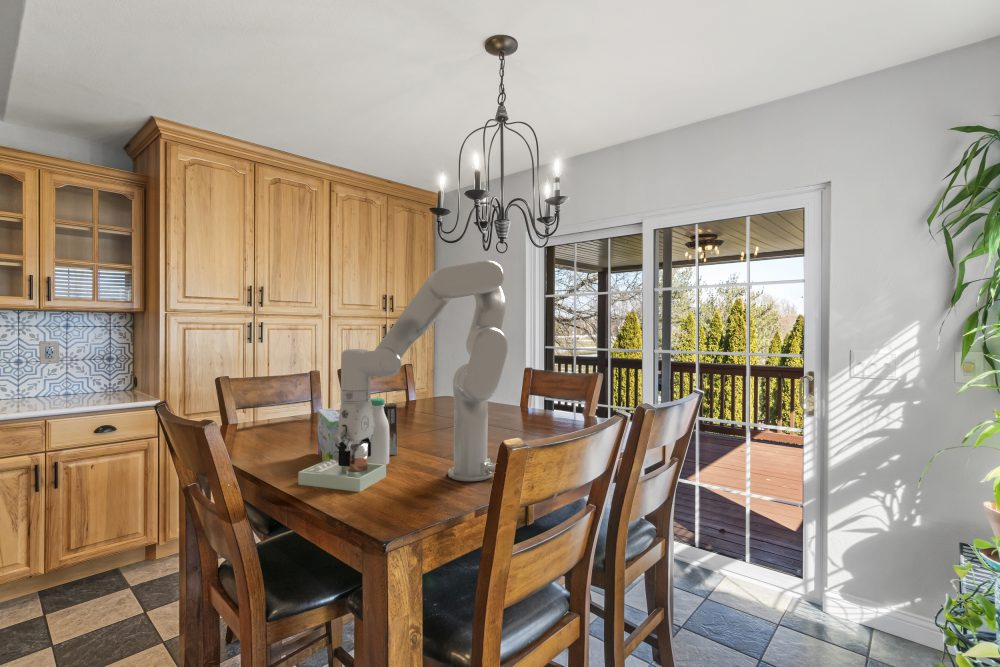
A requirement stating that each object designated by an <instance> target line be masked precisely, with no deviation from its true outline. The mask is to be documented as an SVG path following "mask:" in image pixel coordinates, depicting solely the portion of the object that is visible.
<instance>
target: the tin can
mask: <svg viewBox="0 0 1000 667" xmlns="http://www.w3.org/2000/svg"><path fill="white" fill-rule="evenodd" d="M349 450H350V451H351V465H350V466H349V467H346V477H355V478H360V477H362V476H364V475H366V474H367V469H368V443H367V442H364V441H362V440H361V441H358V442H353V441H352V444H351V446H350V448H349Z"/></svg>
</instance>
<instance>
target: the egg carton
mask: <svg viewBox="0 0 1000 667" xmlns="http://www.w3.org/2000/svg"><path fill="white" fill-rule="evenodd" d="M308 472H311V473H320V474H328V475H337V476H339V475H341V474H342V466H339V465H338V462H336V461H335V460H330V461H329V462H325V463H323V464H321V465H318V466H316V467H315V468H312V469H310V470H308Z"/></svg>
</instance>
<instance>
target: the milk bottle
mask: <svg viewBox="0 0 1000 667" xmlns="http://www.w3.org/2000/svg"><path fill="white" fill-rule="evenodd" d="M371 403H372V409H373V423H374V424H375V426H374V431H373V435H372V441H371V456H370V457H368V463H373V464H382V465H386V466H387V465H388V464H390V455H389V423H388V420H387V418H386V415H385V413H384V404H386V403H385V398H380V397H378V398H377V397H374V398H371Z"/></svg>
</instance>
